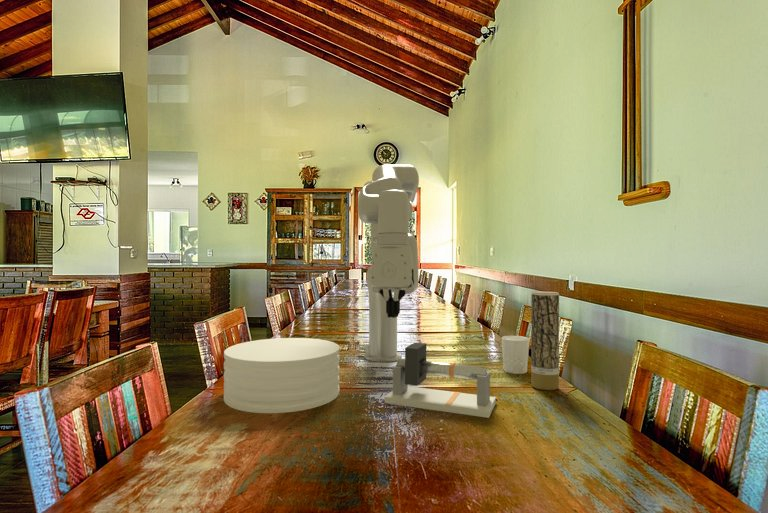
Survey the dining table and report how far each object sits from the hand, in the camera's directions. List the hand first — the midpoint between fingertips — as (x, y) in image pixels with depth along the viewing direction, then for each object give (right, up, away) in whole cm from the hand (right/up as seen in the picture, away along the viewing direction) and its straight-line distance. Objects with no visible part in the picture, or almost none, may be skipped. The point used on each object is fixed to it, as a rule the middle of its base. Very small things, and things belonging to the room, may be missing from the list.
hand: (392, 316), depth 107 cm
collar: (+5, -15, -2) cm, 16 cm away
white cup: (+37, -20, +25) cm, 49 cm away
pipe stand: (+11, -20, -4) cm, 23 cm away
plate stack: (-27, -20, +3) cm, 34 cm away
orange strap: (+14, -18, -5) cm, 23 cm away
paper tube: (+40, -20, +9) cm, 46 cm away
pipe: (+11, -13, -4) cm, 18 cm away
